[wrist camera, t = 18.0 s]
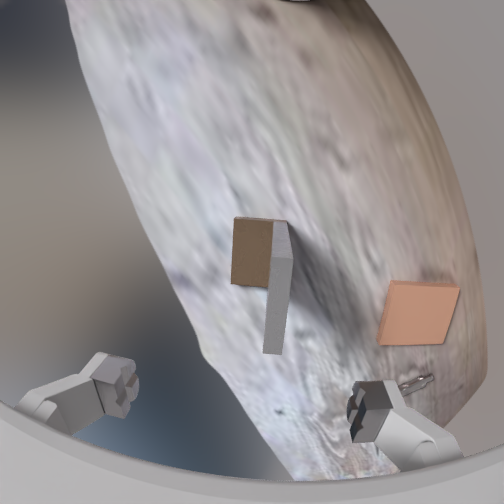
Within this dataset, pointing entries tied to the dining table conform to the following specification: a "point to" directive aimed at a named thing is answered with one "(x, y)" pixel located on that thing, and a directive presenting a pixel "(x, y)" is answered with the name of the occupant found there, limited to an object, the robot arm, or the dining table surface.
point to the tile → (417, 313)
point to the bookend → (265, 270)
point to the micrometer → (415, 384)
